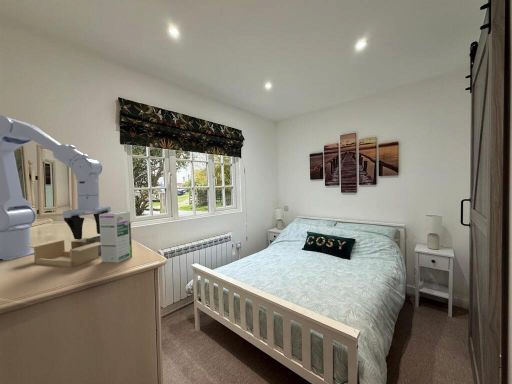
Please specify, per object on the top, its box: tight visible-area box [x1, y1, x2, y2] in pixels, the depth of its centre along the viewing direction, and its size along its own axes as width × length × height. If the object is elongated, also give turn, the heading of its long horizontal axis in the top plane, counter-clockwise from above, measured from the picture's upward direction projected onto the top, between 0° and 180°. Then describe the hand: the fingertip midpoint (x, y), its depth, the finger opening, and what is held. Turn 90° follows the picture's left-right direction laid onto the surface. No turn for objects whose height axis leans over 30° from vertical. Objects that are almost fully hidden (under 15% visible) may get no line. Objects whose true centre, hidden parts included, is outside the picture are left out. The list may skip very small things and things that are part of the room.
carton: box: [26, 239, 101, 268], centre depth 66 cm, size 20×8×5 cm, turn 76°
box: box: [70, 235, 101, 256], centre depth 72 cm, size 10×4×6 cm, turn 77°
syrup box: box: [99, 210, 133, 264], centre depth 66 cm, size 6×6×14 cm
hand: (89, 236), depth 72 cm, fingers open, 7 cm apart
